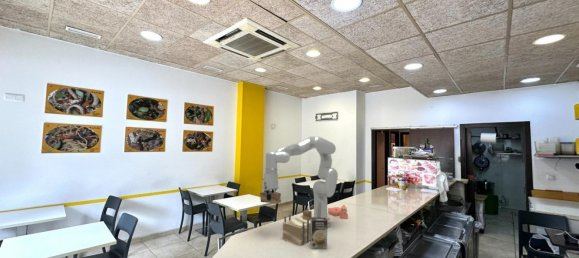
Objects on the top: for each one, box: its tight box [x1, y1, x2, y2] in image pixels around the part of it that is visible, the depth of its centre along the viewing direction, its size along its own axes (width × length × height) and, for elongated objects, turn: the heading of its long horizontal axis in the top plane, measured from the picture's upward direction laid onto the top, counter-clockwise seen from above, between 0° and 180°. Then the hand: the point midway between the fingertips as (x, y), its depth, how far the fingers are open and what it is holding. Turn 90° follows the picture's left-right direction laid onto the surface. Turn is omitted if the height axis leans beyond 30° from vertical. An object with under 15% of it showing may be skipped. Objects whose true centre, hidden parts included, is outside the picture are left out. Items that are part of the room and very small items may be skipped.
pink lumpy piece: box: [327, 204, 349, 220], centre depth 198 cm, size 18×10×10 cm, turn 25°
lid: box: [286, 209, 313, 229], centre depth 152 cm, size 17×13×6 cm
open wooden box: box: [282, 214, 310, 247], centre depth 152 cm, size 20×15×13 cm
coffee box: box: [309, 216, 329, 250], centre depth 139 cm, size 9×6×16 cm
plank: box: [259, 191, 282, 205], centre depth 156 cm, size 3×16×6 cm, turn 49°
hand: (270, 199), depth 155 cm, fingers closed on plank, 2 cm apart
